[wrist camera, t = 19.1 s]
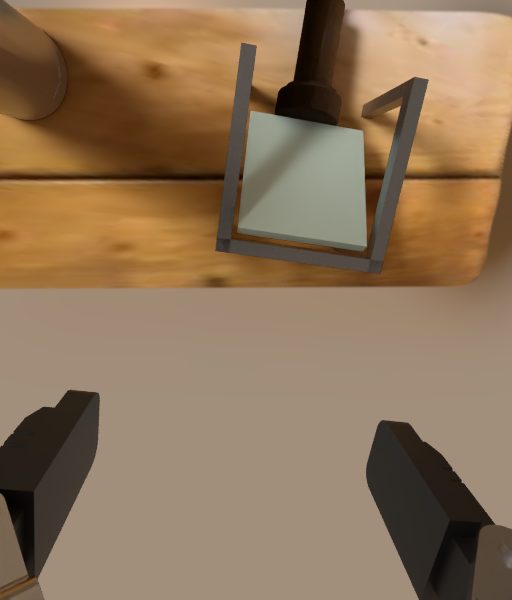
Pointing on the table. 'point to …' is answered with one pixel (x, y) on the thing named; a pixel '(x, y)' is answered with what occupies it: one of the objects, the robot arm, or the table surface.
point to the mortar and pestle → (315, 66)
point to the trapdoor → (304, 183)
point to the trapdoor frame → (372, 260)
